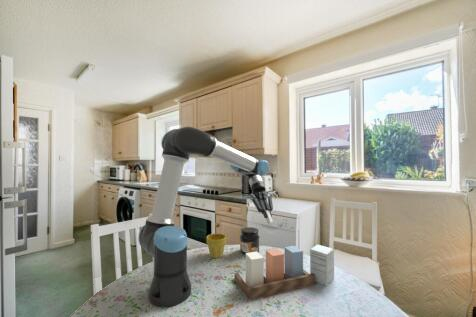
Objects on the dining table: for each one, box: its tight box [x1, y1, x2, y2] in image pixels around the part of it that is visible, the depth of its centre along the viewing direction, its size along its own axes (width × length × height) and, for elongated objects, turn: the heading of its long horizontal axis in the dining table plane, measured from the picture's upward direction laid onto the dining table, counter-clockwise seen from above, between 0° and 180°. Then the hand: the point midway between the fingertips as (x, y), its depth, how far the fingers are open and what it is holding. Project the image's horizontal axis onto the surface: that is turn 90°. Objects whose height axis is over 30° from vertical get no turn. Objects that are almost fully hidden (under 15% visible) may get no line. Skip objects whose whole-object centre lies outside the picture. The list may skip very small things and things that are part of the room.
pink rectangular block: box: [265, 248, 285, 282], centre depth 88 cm, size 5×6×12 cm
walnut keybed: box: [234, 268, 316, 301], centre depth 88 cm, size 29×14×4 cm, turn 110°
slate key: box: [284, 245, 304, 278], centre depth 91 cm, size 5×6×12 cm
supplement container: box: [239, 226, 260, 256], centre depth 117 cm, size 10×10×12 cm
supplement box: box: [309, 244, 335, 286], centre depth 91 cm, size 7×7×13 cm
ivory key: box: [245, 252, 265, 287], centre depth 85 cm, size 5×6×12 cm
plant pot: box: [205, 233, 227, 259], centre depth 113 cm, size 10×10×10 cm
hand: (270, 223), depth 105 cm, fingers closed
